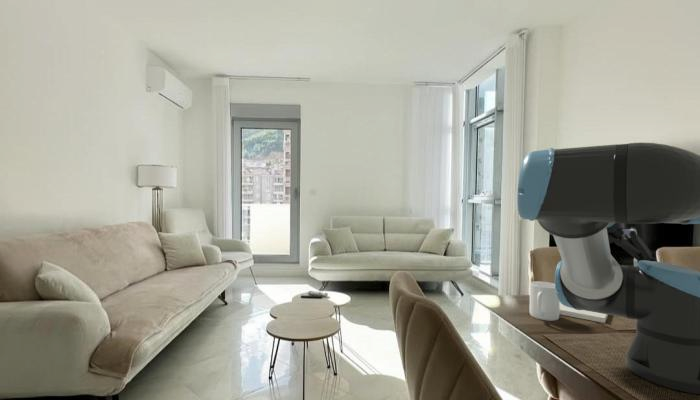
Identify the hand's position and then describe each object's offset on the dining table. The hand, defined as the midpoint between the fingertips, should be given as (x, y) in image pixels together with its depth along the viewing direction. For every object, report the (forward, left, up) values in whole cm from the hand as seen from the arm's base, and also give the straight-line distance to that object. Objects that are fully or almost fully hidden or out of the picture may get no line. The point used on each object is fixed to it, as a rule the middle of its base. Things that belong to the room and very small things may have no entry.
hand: (606, 271), depth 104 cm
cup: (-8, +15, -16) cm, 23 cm away
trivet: (+7, +7, -15) cm, 19 cm away
